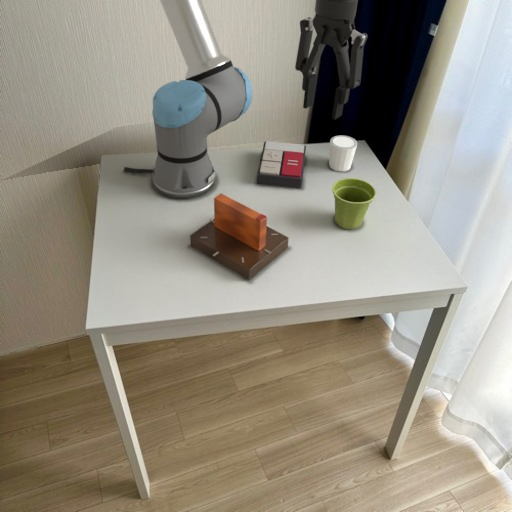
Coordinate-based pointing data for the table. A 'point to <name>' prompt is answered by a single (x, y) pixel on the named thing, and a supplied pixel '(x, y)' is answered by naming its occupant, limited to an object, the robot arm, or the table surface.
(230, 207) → the pointer
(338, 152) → the white fluted cup
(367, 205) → the plant pot
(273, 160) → the calculator
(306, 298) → the table surface
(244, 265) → the dial panel
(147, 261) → the table surface
